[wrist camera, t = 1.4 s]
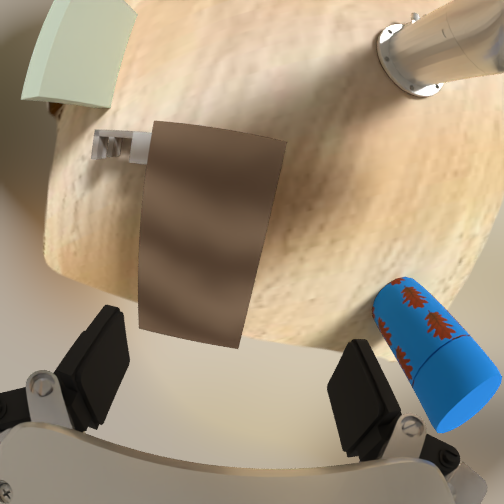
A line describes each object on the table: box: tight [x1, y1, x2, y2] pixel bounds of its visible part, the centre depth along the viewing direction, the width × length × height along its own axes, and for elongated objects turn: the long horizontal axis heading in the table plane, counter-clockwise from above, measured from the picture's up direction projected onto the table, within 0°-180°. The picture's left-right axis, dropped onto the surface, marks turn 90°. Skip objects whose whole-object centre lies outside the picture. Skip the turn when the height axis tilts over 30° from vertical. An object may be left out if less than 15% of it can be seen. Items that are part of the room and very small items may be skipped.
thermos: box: [372, 277, 502, 433], centre depth 31 cm, size 11×11×25 cm
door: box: [21, 0, 138, 108], centre depth 20 cm, size 16×4×16 cm, turn 168°
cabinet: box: [91, 121, 287, 349], centre depth 28 cm, size 19×21×16 cm
